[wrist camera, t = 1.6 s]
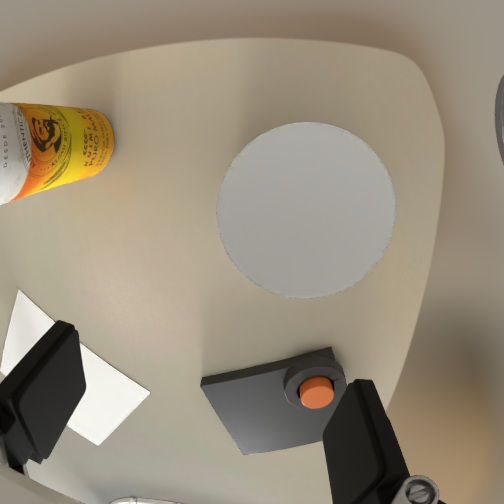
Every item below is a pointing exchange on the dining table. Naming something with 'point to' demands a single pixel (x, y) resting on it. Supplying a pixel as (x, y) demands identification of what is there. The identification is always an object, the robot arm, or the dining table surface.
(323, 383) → the power button
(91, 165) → the beer can
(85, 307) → the dining table surface
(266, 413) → the scale
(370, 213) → the cup
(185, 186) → the dining table surface
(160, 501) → the lazy susan
